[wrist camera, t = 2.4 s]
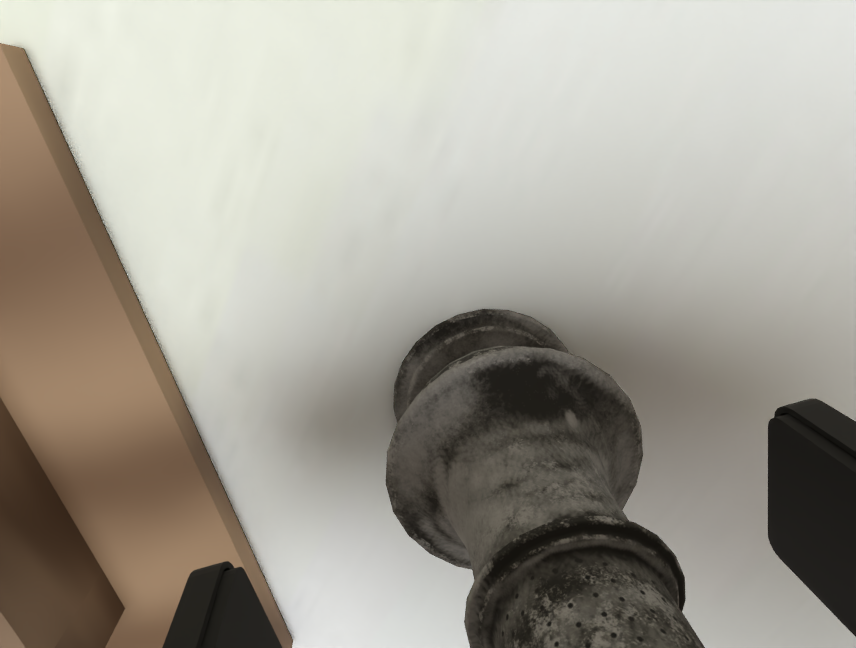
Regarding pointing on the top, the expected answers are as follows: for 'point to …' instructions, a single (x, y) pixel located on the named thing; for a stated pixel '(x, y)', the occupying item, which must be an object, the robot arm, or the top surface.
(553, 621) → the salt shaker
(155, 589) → the walnut holder
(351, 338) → the top surface
